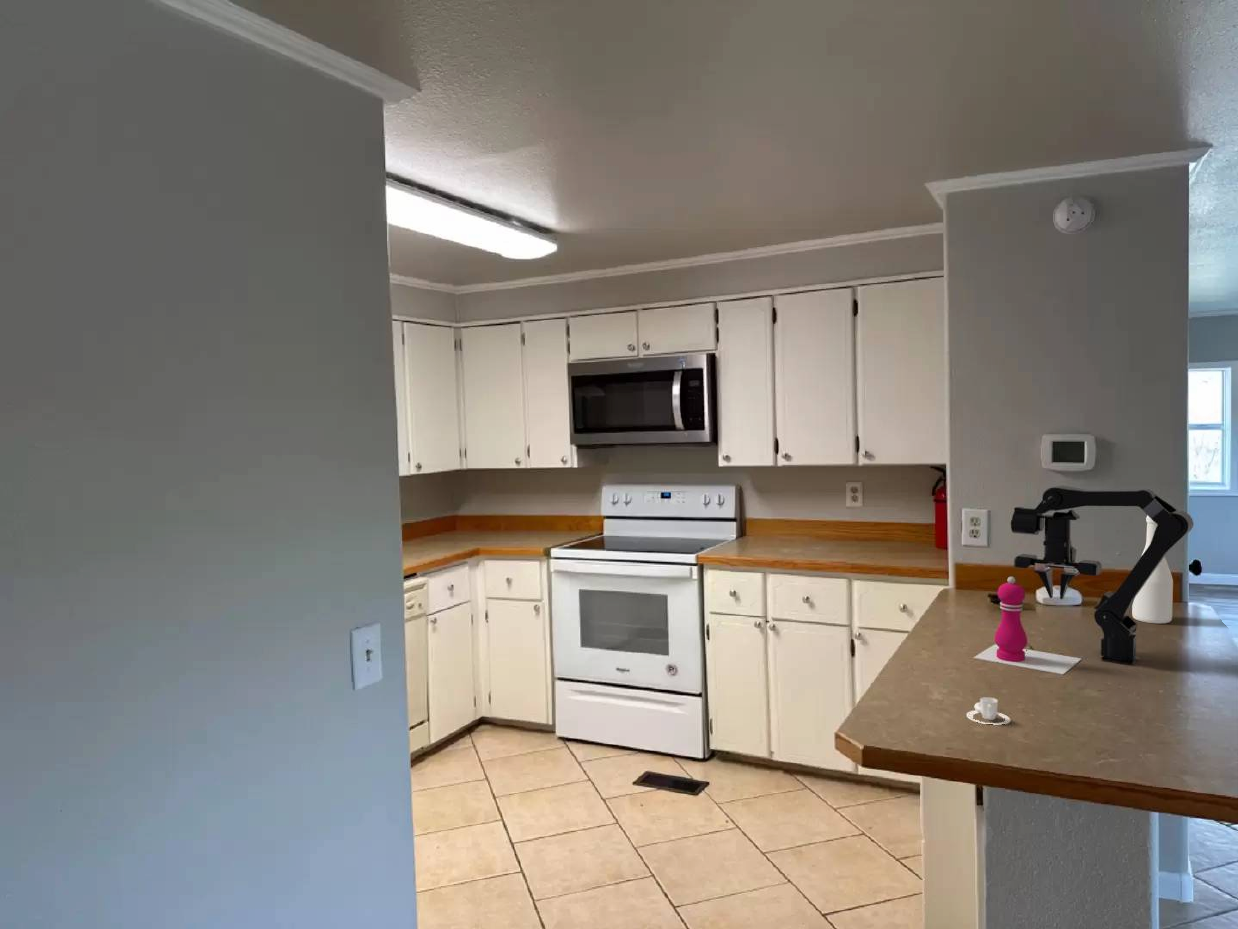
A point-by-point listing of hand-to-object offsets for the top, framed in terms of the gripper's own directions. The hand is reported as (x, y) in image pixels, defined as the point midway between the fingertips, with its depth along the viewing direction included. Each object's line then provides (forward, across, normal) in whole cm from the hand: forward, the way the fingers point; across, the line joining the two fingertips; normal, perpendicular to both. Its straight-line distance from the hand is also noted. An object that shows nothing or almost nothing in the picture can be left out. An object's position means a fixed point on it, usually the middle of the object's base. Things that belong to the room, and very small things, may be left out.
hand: (1056, 598), depth 208 cm
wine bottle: (+13, -12, -47) cm, 50 cm away
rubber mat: (+13, +3, +12) cm, 18 cm away
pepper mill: (+13, +6, +15) cm, 21 cm away
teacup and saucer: (+14, -5, +55) cm, 57 cm away
